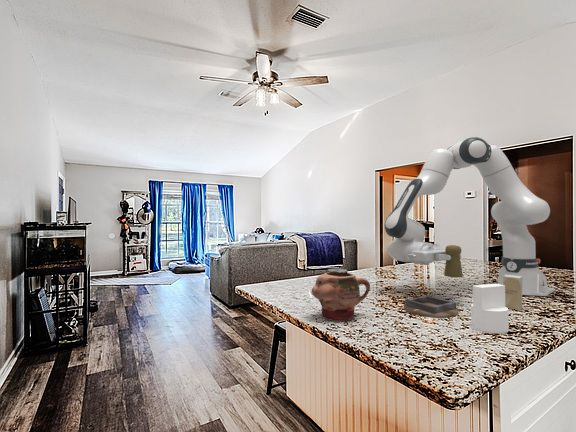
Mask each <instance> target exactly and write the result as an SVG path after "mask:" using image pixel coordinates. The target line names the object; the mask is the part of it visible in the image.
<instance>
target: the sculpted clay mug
mask: <svg viewBox="0 0 576 432" xmlns="http://www.w3.org/2000/svg"><path fill="white" fill-rule="evenodd" d="M360 285H363V286H364V287H365V291H364V293H363V295H361V296H360V294H361V291H360ZM370 290H371V284H370V282H369V281H368V280H367V279H366V278H364V277H363V278H362V277H356V275H355V274H353V273H350V272H347V273H345V272H336V271H332V272H328V271H327V272H325V273H323V274H320V275H319V276H318V277H317V278H316V280H315V284H314V285H313V286H312V288H311V295H312V296H313V297H314V298H316V299H317V300H318V301H319V303H320V305H321V316H322V317H323V318H325V319H326V320H329V321H332V322H347V321H351V320H352V319H354V318H353V317H354V316H355V308H356V306H357V305H358V304H360V303H362V302H363V301H364V300H365V299H366V298H367V296H368V295H369V293H370Z"/></svg>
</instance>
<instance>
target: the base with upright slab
mask: <svg viewBox="0 0 576 432" xmlns="http://www.w3.org/2000/svg"><path fill="white" fill-rule="evenodd" d="M470 323H471V327H472V329H475V330H478V331H479V332H480V331H481V332H483V333H491V334H507V333H508V332H509V330H510V329H509V309H508V308H507V307H505V285H501V284H498V283H485V284H476V285H472V303H471V305H470Z"/></svg>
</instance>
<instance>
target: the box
mask: <svg viewBox="0 0 576 432" xmlns="http://www.w3.org/2000/svg"><path fill="white" fill-rule="evenodd" d="M522 278H523V277H522V276H515V275H504V276H503V285H505V307H507V308H509V309H508V310H514V309H515V310H516V311H521V310H522V308H523V295H522Z"/></svg>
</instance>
